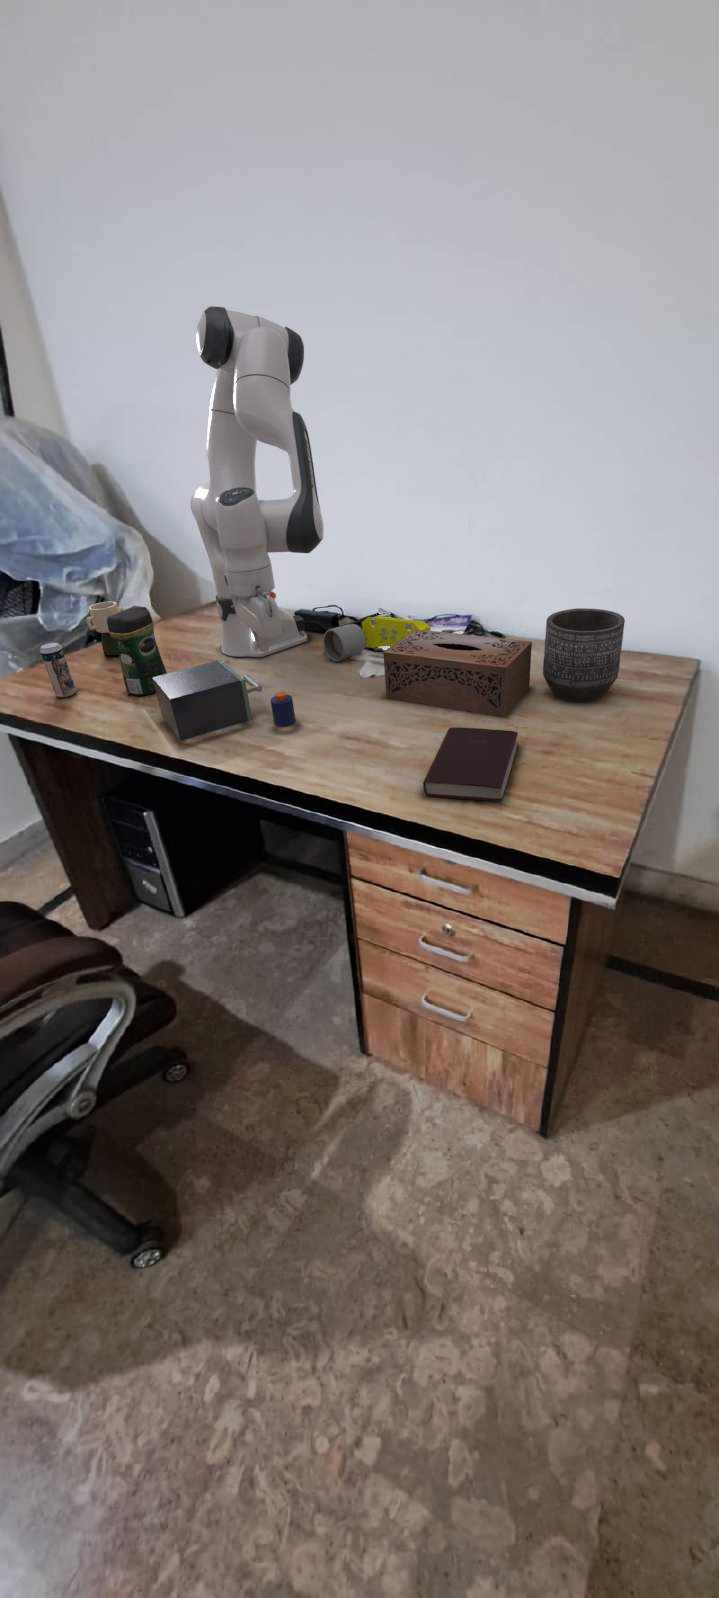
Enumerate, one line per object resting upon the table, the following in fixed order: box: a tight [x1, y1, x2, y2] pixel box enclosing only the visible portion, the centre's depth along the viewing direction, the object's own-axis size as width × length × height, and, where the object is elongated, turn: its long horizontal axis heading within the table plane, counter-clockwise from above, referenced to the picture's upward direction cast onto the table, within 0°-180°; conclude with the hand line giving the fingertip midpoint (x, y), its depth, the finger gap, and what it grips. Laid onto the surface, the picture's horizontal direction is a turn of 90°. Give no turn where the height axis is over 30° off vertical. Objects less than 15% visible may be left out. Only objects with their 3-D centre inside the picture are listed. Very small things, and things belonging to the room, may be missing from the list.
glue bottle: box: [270, 691, 297, 728], centre depth 131 cm, size 4×4×7 cm
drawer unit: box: [152, 660, 248, 742], centre depth 135 cm, size 14×14×10 cm
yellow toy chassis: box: [361, 615, 432, 653], centre depth 162 cm, size 16×6×8 cm, turn 58°
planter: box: [542, 607, 626, 703], centre depth 131 cm, size 14×14×15 cm
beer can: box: [39, 641, 77, 698], centre depth 155 cm, size 5×5×12 cm
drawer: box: [217, 659, 263, 722], centre depth 136 cm, size 18×14×9 cm
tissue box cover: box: [382, 629, 533, 718], centre depth 137 cm, size 26×14×10 cm, turn 59°
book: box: [422, 726, 519, 802], centre depth 112 cm, size 12×19×3 cm, turn 161°
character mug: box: [85, 601, 125, 656], centre depth 176 cm, size 11×7×13 cm, turn 141°
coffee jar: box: [107, 605, 168, 697], centre depth 152 cm, size 10×8×19 cm
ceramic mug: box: [322, 624, 366, 662], centre depth 162 cm, size 11×8×8 cm
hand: (263, 649), depth 138 cm, fingers closed
